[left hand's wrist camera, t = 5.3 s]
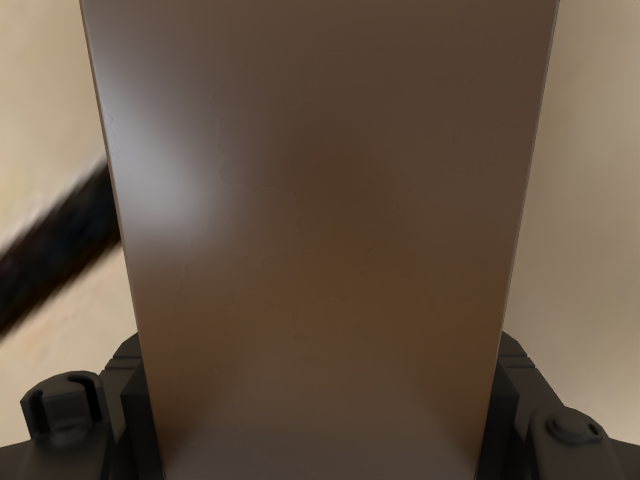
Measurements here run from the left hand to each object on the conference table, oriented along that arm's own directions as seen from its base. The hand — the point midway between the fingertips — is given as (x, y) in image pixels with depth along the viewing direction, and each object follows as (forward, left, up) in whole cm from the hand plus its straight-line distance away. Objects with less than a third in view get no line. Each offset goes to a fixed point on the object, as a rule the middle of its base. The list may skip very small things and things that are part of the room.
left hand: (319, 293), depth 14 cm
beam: (+19, 0, 0) cm, 19 cm away
